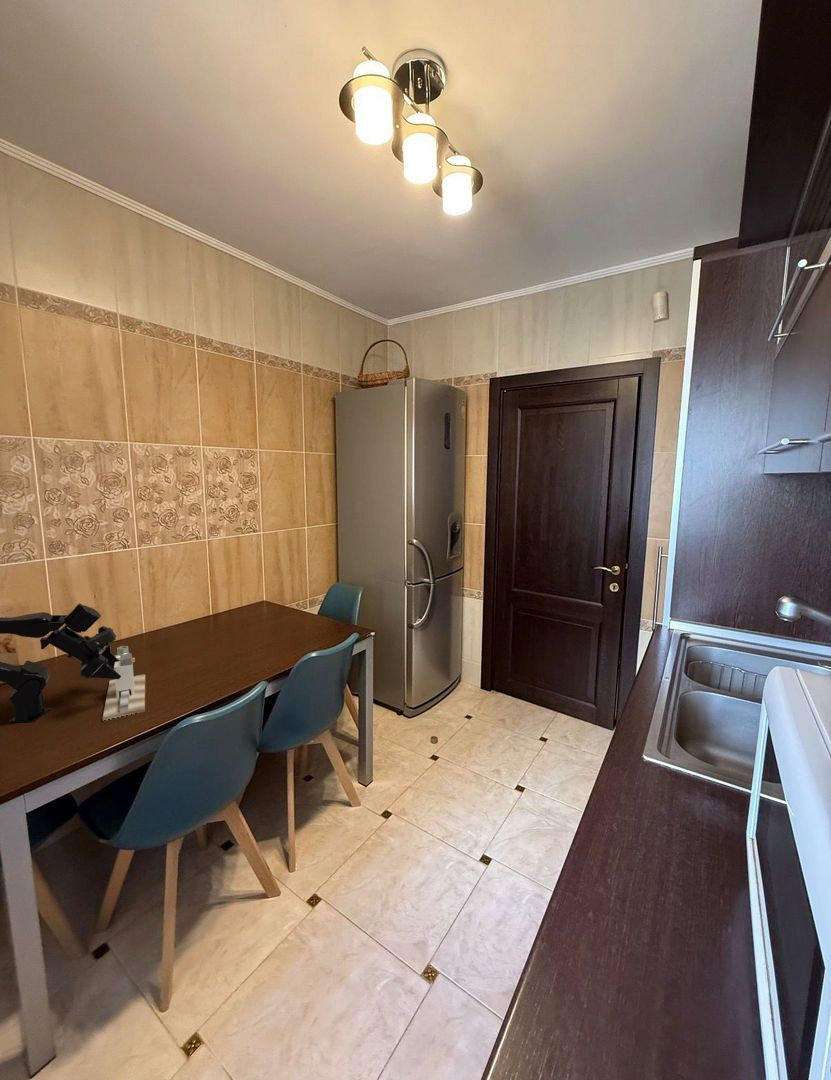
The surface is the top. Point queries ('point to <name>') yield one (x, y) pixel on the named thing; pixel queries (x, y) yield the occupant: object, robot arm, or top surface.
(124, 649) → the valve
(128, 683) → the breaker module
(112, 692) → the din board
